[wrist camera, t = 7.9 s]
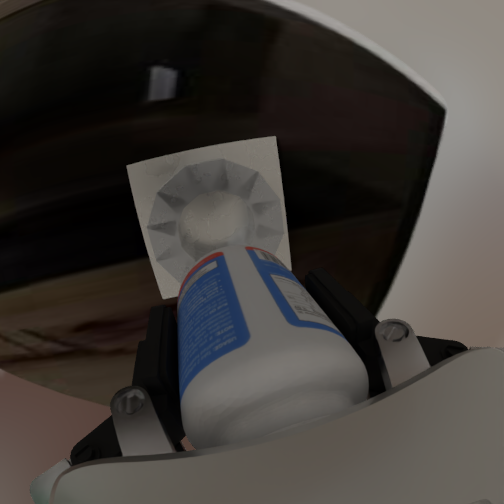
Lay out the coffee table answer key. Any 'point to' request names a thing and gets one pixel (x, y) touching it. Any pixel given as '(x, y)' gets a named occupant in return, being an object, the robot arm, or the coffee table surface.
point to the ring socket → (209, 205)
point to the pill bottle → (257, 351)
